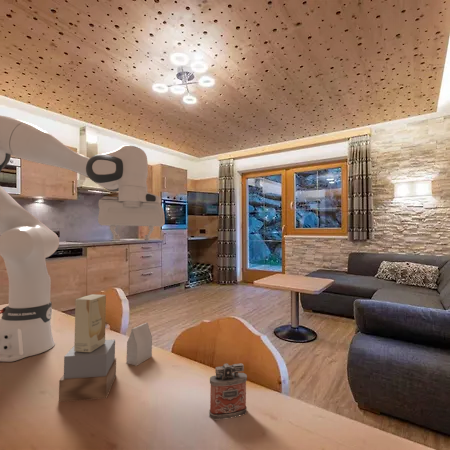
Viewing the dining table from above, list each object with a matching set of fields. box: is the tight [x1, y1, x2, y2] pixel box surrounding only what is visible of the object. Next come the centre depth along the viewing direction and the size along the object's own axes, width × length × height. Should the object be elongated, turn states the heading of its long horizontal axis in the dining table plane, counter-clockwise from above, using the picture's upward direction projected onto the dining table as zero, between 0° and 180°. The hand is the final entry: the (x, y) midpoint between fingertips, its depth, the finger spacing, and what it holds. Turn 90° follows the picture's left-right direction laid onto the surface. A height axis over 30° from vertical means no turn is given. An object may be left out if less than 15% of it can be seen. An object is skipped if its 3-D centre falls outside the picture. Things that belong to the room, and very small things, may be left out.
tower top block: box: [63, 339, 116, 379], centre depth 68 cm, size 9×9×5 cm
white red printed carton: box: [126, 322, 153, 366], centre depth 84 cm, size 4×7×10 cm, turn 157°
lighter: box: [208, 362, 248, 420], centre depth 60 cm, size 8×3×10 cm, turn 105°
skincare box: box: [73, 293, 107, 353], centre depth 69 cm, size 6×4×12 cm
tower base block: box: [58, 357, 117, 403], centre depth 68 cm, size 10×10×5 cm
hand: (132, 240), depth 90 cm, fingers open, 8 cm apart
